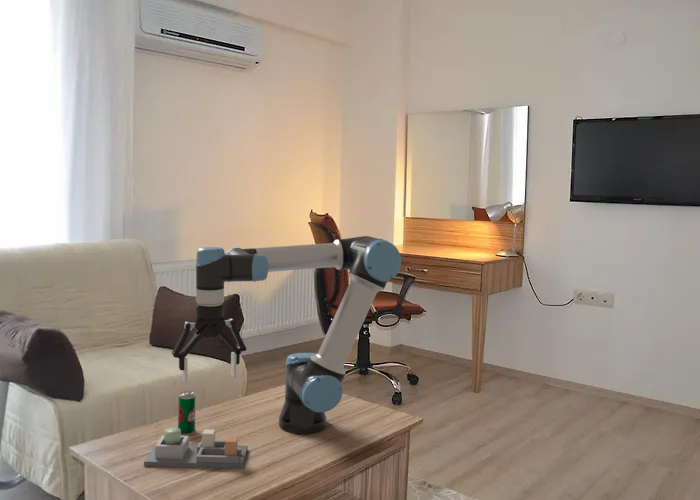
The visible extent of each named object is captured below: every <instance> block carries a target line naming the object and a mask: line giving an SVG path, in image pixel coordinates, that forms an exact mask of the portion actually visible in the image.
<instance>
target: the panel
mask: <svg viewBox="0 0 700 500" xmlns="http://www.w3.org/2000/svg"><path fill="white" fill-rule="evenodd" d="M189 438H190V437H189V435H181V441H180V442H179V443H177V444H166V443H164V434H162V435H161V437H160V438H159V439H158V441H157V442H156V443H155V444H154V446H152V449H151V450H150V452H149V453H148V455H147V456H146V458H145V460H144V461H143V466H144V467H166V468H167V467H172V468H173V467H174V468H213V469H214V468H215V469H243V465H244V463H245V460H246V455H247V452H248V445H241V444H239V445H238V444H237V456H225V440H226V439H225V440H223V439H222V440H221V439H219V440H218V439H215V447H202V440H201V441H199V442H198V443H197V444H196V443H193V444H192V443H190V441H189V440H190V439H189Z"/></svg>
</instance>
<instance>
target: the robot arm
mask: <svg viewBox="0 0 700 500" xmlns="http://www.w3.org/2000/svg"><path fill="white" fill-rule="evenodd" d="M401 266H402V256H401V254H400V251H399V249H398V248H397V246H396V245H395V244H394V243H392V242H389V241H388V240H386V239H383V238H377V237H373V236H368V235H363V236H356V237H346V238H340V239H338V238H337V239H334V240H333V242H328V243H315V244H314V243H313V244H310V243H309V244H299V245H297V244H296V245H282V246H281V245H280V246H267V247H254V248H241V247H233V248H230V249H228V250H227V251H226V252H225V249H224V248H223V247H218V246H206V247H205V246H204V247H200V248H198V249H197V251H196V262H195V288H196V290H195V291H196V293H195V294H196V295H195V296H196V297H195V302H196V303H197V304H196V306H195V321H194V322H189V321H184V323H183V330H182V331H181V334H180V336H179V338H178V339H177V341H176V344H175V346H174V348H173V350H172V352H171V355H172V356H173V358H176V359H178V368H179V371H182V381H183V382H184V384H186V383H187V384H188V380H189V379H188V377H189V376H188V374H189V373H188V363H189V362H188V361H189V360H188V358H187V355H189V354H190V352H191V351H192V349H193V348H194V347H195V345H197V344H198V342H199V341H201V340H202V338H205V339H206V338H210V337H211V338H217V337H218V336H219V337H220V338H221V339H222V340H224V342H225V343H226V344H227V345H228V346H229V347H230V349H232V351H231V352H230V375H231V376H232V377H233V378H236V377H237V365H239V364H240V360H241V359H240V357H241V355H240V354H241V353H242V352H246V350H247V346H246V344H245V343H244V340H243V338H242V337H241V335H240V333H239V330H238V329H237V325H236V324H237V323H236V320H235V319H233V318H232V317H231V318H228V319H226V320H225V304H223V303H224V302H225V282H226V283H227V282H228V283H231V282H253V283H256V282H262V281H265V280H267V278H268V274H269V273H272V272H285V271H297V270H299V271H300V270H301V271H302V270H310V269H311V270H312V269H325V268H335V269H336V270H338V271H340V270H349V271H348V276H349V278H350V281H349V284H348V286H347V287H346V290H345V292H344V296H343V297H342V299H341V301H340V302H339V303H340V304H339V306H338V308H337V310H336V313H335V315H334V317H333V318H332V321H331V323H330V325H329V328H328V330H327V332H326V335H325V337H324V339H323V341H322V343H321V345H320V347H319V350H318V351H317V353H316V352H315V353H314V352H296V353H291V354H289V355H287V357H286V362H285V390H284V391H285V392H284V393H285V394H284V396H285V397H284V403H283V405H282V408H281V410H280V414H279V417H278V426H279V427H280V428H281V430H283V431H285V432H289V433H294V434H313V433H317V432H320V431H323V430H324V429H325V428H326V427H327V416H326V415H327V414H326V413H327V412H329V411H331V410H333V409H334V408H336V406H337V405H339V404H340V402H341V400H342V397H343V386H342V383H343V381H344V378H345V376H346V369H345V367H344V366H345V364H346V361H347V359H348V356H349V354H350V353H351V351H352V348H353V346H354V344H355V341H356V340H357V337H358V335H359V332H360V330H361V329H362V326H363V324H364V322H365V320H366V317H367V315H368V313H369V310H370V309H371V306H372V304H373V302H374V299H375V298H376V295H377V294H378V293H379V292H381V291H384V290H385V288H386V287H387V284H388V282H389V281H390V280H393V279H394V278H395V277H396V276H397V275H398V274H399V272H400V270H401ZM225 327H228V328H229V329H230V331H231V333H232V335H233V338H234V339H235V341H236V343H237V345H238V346H236V344H235V343H234V342H233V341H232V340H231V339H230V338H229V336H228V335H227V334H226V333H225V332H224V331H223V329H224V328H225ZM193 328H195V329H196V331H195V333H194V334H193V336H192V337H191V338H190V339H189V341H188V342H187V339H188V336H189V334H190V332H191V331H192V330H193ZM185 342H186V344H185ZM184 345H185V346H184ZM183 346H184V347H183ZM337 407H338V406H337Z"/></svg>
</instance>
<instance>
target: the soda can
mask: <svg viewBox="0 0 700 500" xmlns="http://www.w3.org/2000/svg"><path fill="white" fill-rule="evenodd" d="M177 401H178V402H177V404H178V406H177V407H178V408H177V428H179V429H180V430H181V435H189V434H192V433H194V432H195V430H196V401H197V399H196V395H195V391H191V390H187V391H186V390H185V391H182V392H180V393H179V395H178V399H177Z"/></svg>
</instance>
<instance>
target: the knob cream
mask: <svg viewBox="0 0 700 500" xmlns="http://www.w3.org/2000/svg"><path fill="white" fill-rule="evenodd" d="M201 434H202V435H201V436H202V440H201V441H202V447H215V440H216V429H205V428H204V430H203V432H202V433H201Z"/></svg>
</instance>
